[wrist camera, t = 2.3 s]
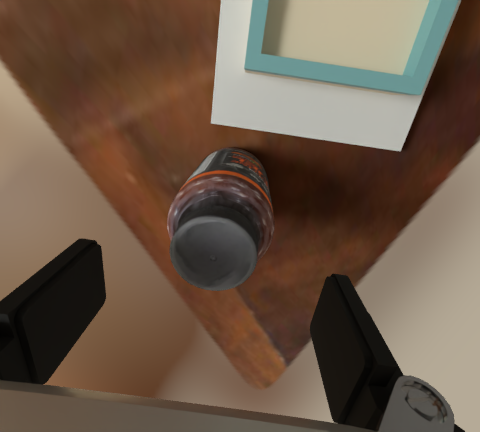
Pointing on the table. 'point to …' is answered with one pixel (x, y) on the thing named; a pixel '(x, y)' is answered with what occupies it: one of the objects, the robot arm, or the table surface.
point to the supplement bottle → (221, 220)
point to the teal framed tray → (328, 66)
